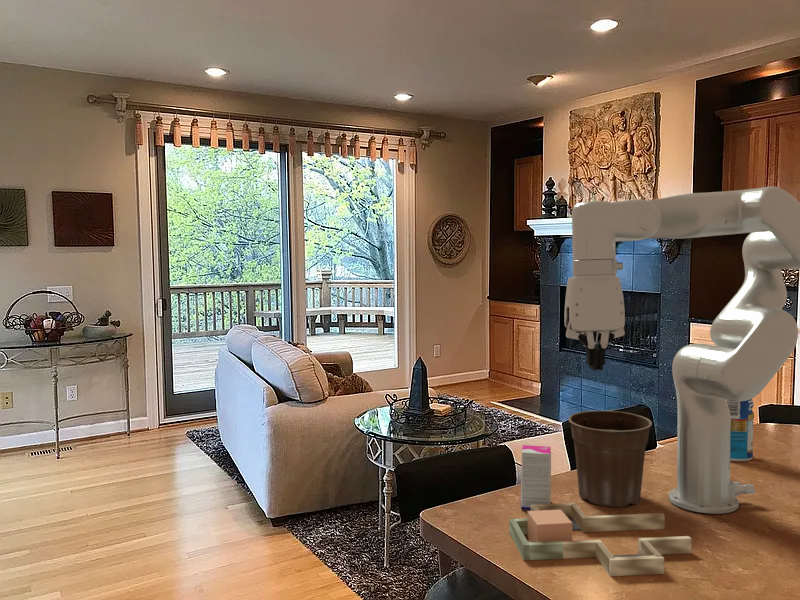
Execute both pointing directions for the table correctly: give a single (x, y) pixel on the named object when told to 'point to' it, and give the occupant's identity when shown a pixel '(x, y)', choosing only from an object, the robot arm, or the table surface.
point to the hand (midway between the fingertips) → (595, 368)
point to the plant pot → (610, 455)
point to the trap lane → (613, 564)
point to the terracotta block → (548, 526)
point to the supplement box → (535, 476)
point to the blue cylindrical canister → (741, 430)
